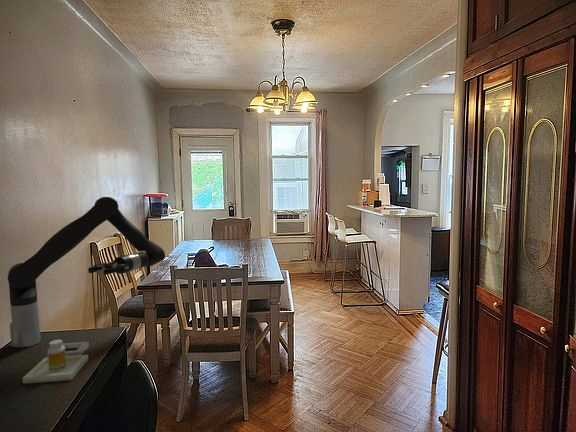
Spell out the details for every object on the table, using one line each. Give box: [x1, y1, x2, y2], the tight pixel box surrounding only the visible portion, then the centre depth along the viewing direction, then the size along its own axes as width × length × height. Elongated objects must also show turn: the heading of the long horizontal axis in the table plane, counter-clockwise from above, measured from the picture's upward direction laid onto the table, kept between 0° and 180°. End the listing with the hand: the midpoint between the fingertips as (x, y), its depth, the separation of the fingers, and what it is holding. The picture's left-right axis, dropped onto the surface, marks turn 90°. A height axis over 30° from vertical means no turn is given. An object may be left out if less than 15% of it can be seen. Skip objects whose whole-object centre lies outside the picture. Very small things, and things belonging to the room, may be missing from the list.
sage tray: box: [22, 354, 89, 384], centre depth 137 cm, size 15×15×2 cm
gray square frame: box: [63, 341, 90, 356], centre depth 153 cm, size 10×10×2 cm
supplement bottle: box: [46, 339, 66, 372], centre depth 137 cm, size 5×5×10 cm
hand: (96, 271), depth 158 cm, fingers open, 8 cm apart
